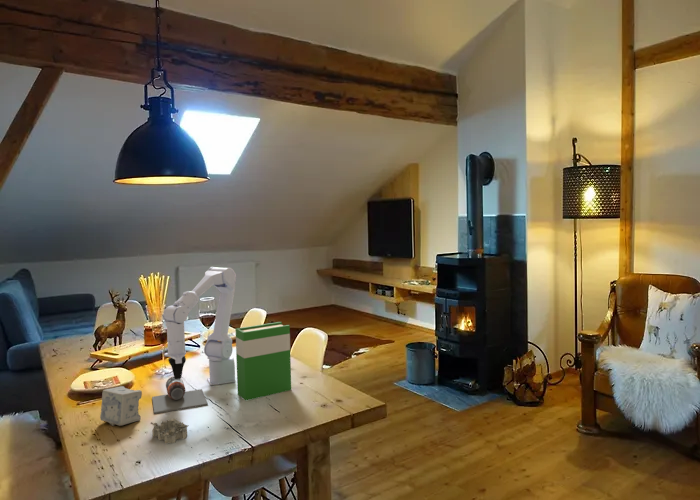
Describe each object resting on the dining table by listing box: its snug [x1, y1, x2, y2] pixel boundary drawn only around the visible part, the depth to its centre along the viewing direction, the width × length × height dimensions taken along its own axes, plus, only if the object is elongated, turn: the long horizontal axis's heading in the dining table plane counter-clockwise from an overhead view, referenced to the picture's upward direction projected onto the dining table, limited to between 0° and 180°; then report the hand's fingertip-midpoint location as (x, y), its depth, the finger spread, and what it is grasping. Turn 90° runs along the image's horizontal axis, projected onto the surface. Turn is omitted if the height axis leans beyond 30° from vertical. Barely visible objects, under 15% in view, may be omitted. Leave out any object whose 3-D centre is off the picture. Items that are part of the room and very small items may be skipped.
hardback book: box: [234, 321, 292, 402], centre depth 180 cm, size 18×7×24 cm, turn 124°
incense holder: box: [99, 385, 143, 427], centre depth 157 cm, size 10×8×10 cm
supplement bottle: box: [165, 375, 186, 400], centre depth 175 cm, size 6×6×11 cm
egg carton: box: [150, 418, 189, 444], centre depth 146 cm, size 11×8×4 cm
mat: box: [151, 388, 209, 415], centre depth 172 cm, size 17×15×1 cm
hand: (177, 378), depth 175 cm, fingers closed
